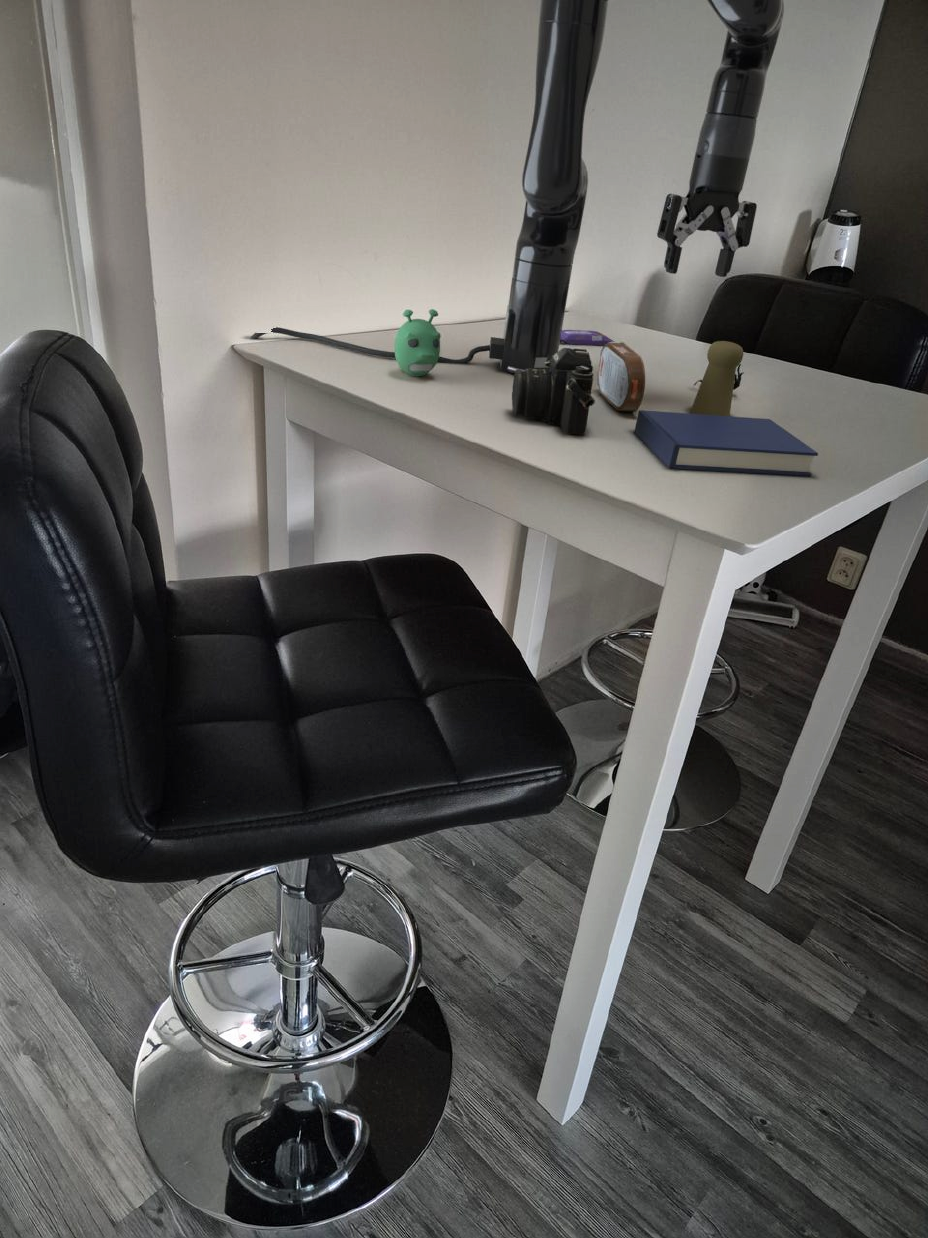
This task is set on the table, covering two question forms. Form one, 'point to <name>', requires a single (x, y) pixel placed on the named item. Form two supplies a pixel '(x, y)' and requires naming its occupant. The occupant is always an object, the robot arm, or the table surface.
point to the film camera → (557, 391)
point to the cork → (718, 380)
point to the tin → (621, 377)
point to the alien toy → (417, 345)
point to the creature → (737, 380)
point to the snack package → (584, 337)
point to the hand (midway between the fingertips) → (695, 274)
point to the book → (723, 443)
